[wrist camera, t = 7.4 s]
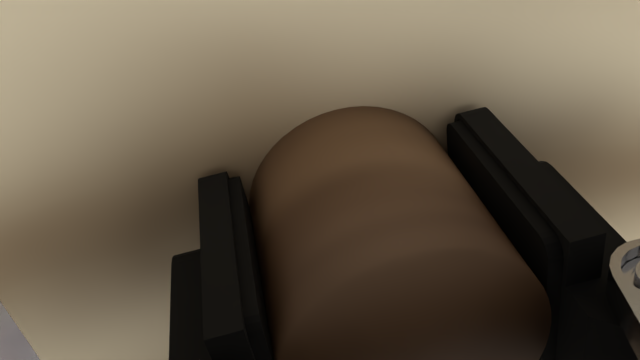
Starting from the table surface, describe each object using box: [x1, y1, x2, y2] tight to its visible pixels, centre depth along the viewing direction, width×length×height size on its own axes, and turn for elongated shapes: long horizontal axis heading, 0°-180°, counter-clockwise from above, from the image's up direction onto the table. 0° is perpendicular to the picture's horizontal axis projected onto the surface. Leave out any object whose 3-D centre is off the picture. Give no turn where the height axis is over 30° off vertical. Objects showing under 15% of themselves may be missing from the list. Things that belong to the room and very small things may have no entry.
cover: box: [0, 0, 640, 360], centre depth 10 cm, size 14×14×5 cm
